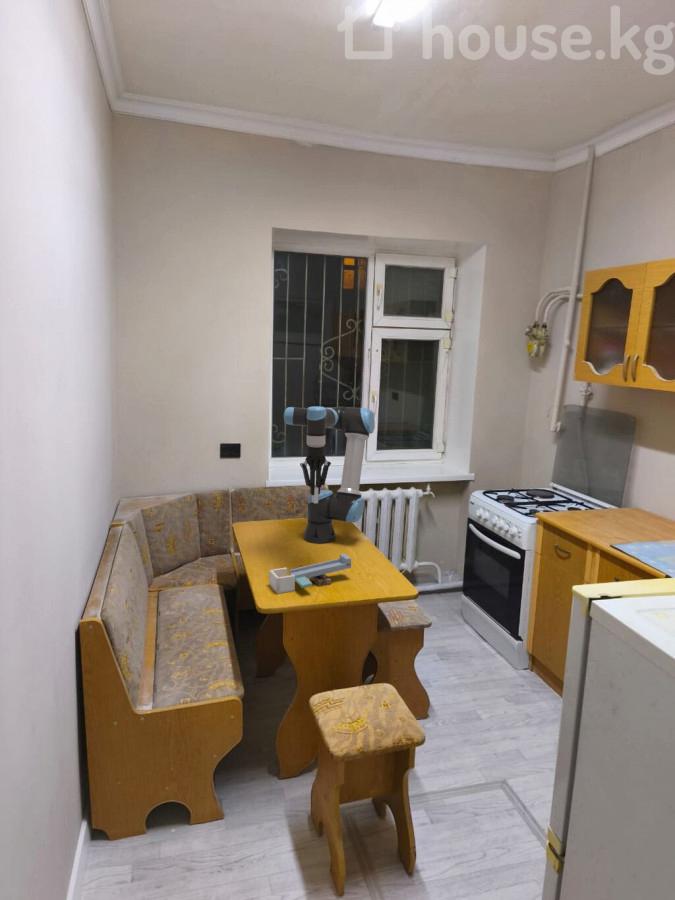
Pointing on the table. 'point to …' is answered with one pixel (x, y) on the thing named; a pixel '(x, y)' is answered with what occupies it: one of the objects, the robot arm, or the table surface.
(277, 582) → the bin
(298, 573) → the lever
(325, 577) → the brown recessed block
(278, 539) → the table surface
